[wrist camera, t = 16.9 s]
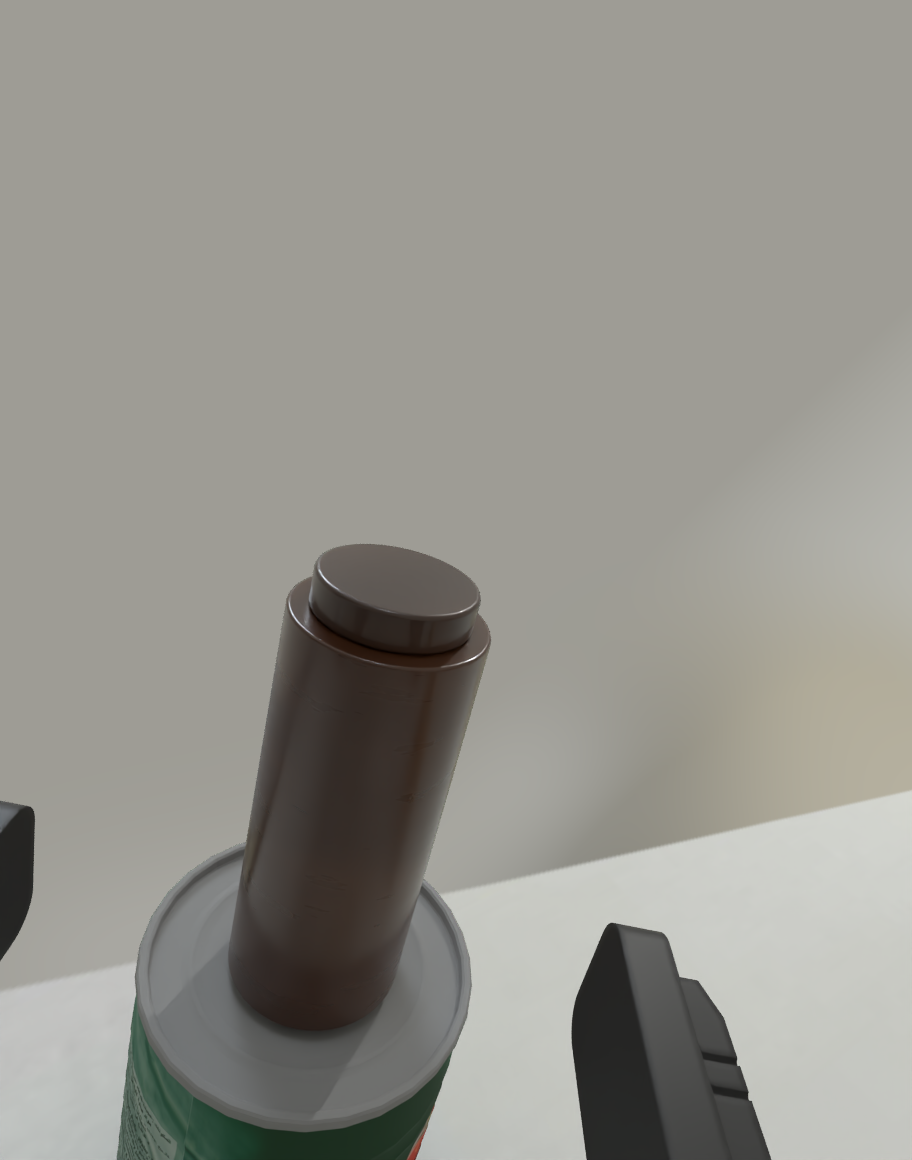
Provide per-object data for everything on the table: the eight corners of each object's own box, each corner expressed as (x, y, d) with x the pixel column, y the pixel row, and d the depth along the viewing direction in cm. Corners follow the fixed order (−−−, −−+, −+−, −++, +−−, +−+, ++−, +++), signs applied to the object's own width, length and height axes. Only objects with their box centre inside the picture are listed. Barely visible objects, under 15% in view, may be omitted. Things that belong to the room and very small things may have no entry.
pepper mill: (190, 955, 17) (245, 556, 14) (309, 863, 21) (380, 522, 17) (321, 1071, 16) (426, 652, 12) (428, 950, 19) (537, 594, 15)
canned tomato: (265, 1494, 18) (350, 1218, 13) (39, 1260, 20) (51, 971, 16) (431, 1179, 24) (522, 932, 20) (245, 1036, 27) (290, 792, 23)
